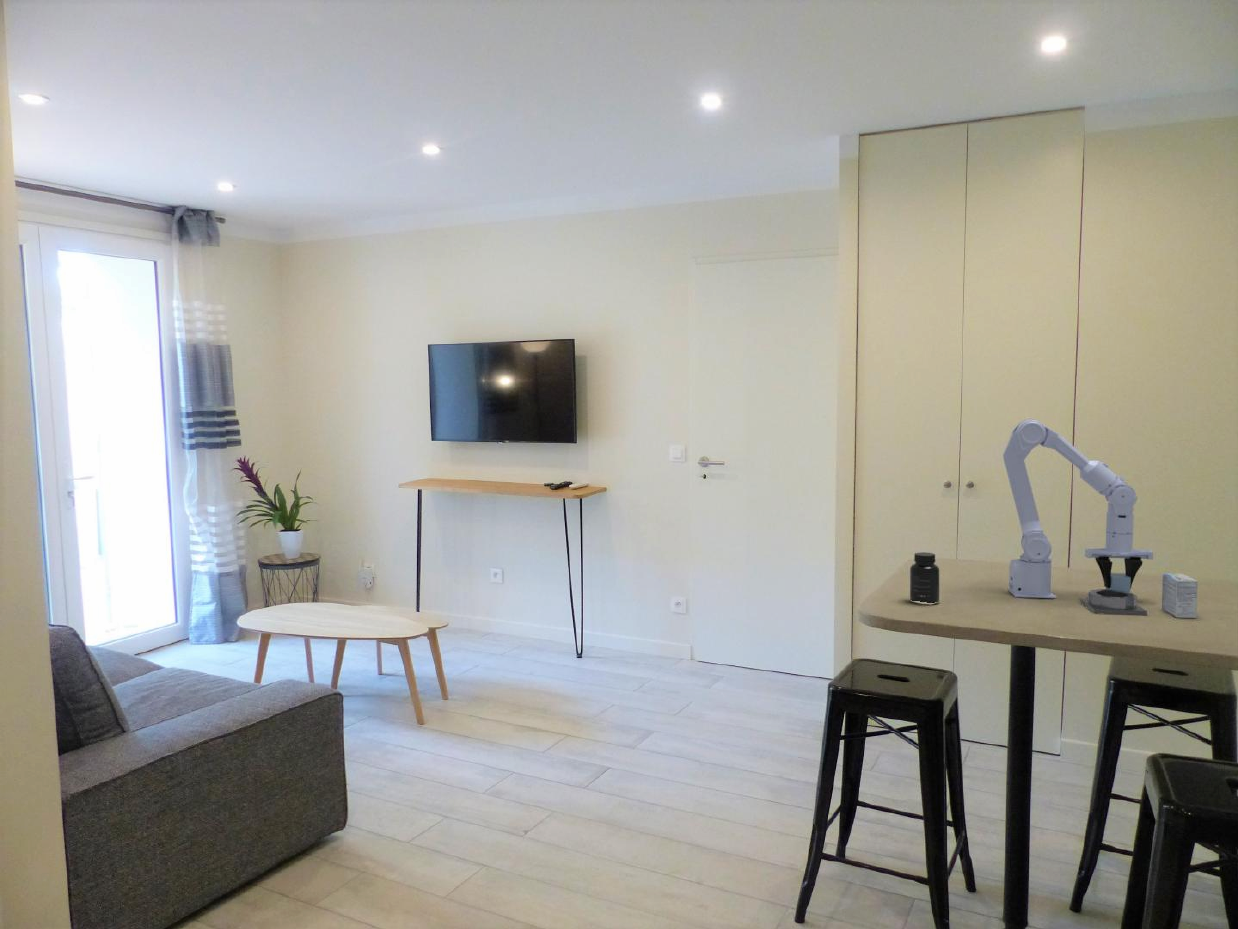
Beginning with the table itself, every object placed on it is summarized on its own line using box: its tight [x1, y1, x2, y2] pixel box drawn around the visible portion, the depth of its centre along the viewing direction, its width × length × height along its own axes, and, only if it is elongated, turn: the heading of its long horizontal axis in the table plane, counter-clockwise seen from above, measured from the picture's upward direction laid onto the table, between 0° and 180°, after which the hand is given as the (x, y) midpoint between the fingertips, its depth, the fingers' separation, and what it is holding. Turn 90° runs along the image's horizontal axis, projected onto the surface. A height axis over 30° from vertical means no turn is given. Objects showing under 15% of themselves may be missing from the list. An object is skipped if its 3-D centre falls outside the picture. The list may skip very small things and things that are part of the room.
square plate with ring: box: [1078, 588, 1148, 616], centre depth 205 cm, size 11×11×4 cm
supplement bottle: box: [909, 551, 940, 603], centre depth 213 cm, size 7×7×12 cm
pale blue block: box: [1105, 572, 1132, 593], centre depth 212 cm, size 5×5×6 cm
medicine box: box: [1161, 573, 1199, 619], centre depth 199 cm, size 8×4×9 cm, turn 168°
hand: (1117, 587), depth 212 cm, fingers closed on pale blue block, 4 cm apart
